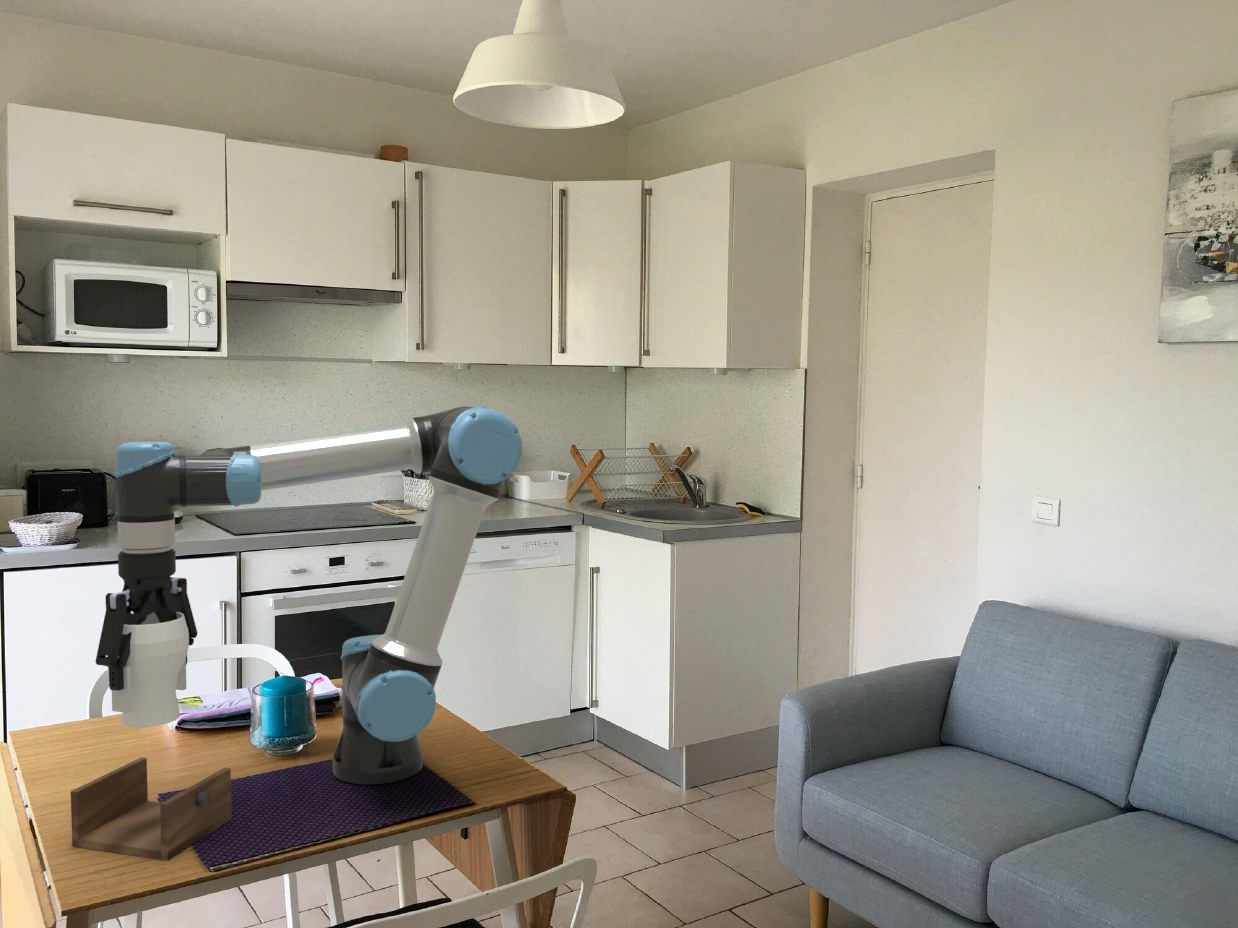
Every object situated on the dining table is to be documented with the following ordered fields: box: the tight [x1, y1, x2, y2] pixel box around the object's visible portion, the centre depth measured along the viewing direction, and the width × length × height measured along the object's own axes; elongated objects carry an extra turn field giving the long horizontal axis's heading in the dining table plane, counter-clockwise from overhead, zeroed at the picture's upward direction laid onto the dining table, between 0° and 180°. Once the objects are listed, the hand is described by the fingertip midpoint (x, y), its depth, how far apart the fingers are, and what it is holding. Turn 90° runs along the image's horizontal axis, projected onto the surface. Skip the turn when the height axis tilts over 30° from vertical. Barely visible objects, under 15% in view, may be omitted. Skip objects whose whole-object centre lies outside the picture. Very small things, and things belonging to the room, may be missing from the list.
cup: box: [117, 612, 190, 728], centre depth 148 cm, size 11×11×15 cm
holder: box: [70, 756, 233, 862], centre depth 149 cm, size 18×14×8 cm
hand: (150, 699), depth 148 cm, fingers closed on cup, 10 cm apart
